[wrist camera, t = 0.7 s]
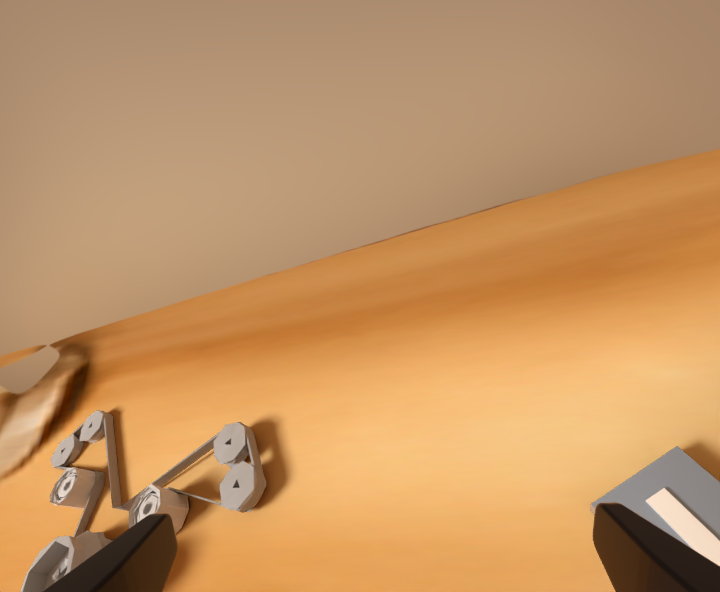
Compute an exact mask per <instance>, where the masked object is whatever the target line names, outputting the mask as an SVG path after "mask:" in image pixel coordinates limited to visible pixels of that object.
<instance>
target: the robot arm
mask: <svg viewBox="0 0 720 592" xmlns="http://www.w3.org/2000/svg"><path fill="white" fill-rule="evenodd" d="M593 541H594V545H595V548H596V550H597V553H598V555H599V557H600V559H601V561H602V563H603V565H604V568H605V570H606V572H607V574H608V576H609V578H610V581H611V583H612V585H613V587H614V589H615V591H616V592H720V566H719V565H717V564H715V563H714V562H712V561H711V560H709V559H708V558H706V557H704V556H703V555H701V554H700V553H698V552H697V551H695V550H693V549H692V548H690V547H689V546H687V545H686V544H684V543H682V542H681V541H679V540H678V539H676V538H674V537H673V536H671V535H670V534H668V533H667V532H665V531H663V530H662V529H660V528H659V527H657V526H656V525H654V524H652V523H651V522H649V521H648V520H646V519H644V518H643V517H641V516H640V515H638V514H637V513H635V512H633V511H632V510H630V509H629V508H627V507H626V506H624V505H622V504H620V503H616V502H612V503H599V504H597V506H596V509H595V517H594V527H593ZM176 553H177V539H176V535H175V530H174V526H173V521H172V517H171V516H170V515H169V514H167V513H153V514H149V515H148V516H146V517H145V518H143V519H142V520H140V521H139V522H138V523H136V524H135V525H134V526H132V527H131V528H129V529H128V530H127V531H125V532H124V533H122V534H121V535H120V536H118V537H117V538H116V539H114V540H113V541H111V542H110V543H109V544H107V545H106V546H104V547H103V548H102V549H100V550H99V551H98V552H96V553H95V554H93V555H92V556H91V557H89V558H88V559H86V560H85V561H84V562H82V563H81V564H80V565H78V566H77V567H75V568H74V569H73V570H71V571H70V572H69V573H67V574H66V575H64V576H63V577H62V578H60V579H59V580H57V581H56V582H55V583H53V584H52V585H51V586H49V587H48V588H46V589H45V590H44V591H42V592H162V591H163V589H164V586H165V583H166V581H167V578H168V575H169V573H170V570H171V567H172V565H173V562H174V559H175V556H176Z"/></svg>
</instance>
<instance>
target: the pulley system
mask: <svg viewBox="0 0 720 592" xmlns="http://www.w3.org/2000/svg"><path fill="white" fill-rule="evenodd" d="M113 418H114V417H113V416H112V415H111V414H109V413H106V412H104V411H99V410H97V411H95V412H94V413H93V414H91V415H90V416H89V417H88V418H87V419H86V421H85V422H84V423H83V424H82V425H81V426H80V427H79V428H78V429H77V430H76V431H75V432H73V433H72V434H71V435H70V436H69V437H68V438H66V439H65V440H63V441H62V442H60V444H59V445H58V447H57V449H56V451H55V452H54V454H53V456H52V457H51V462H52V465H53V468H58V469H63V470H65V471H64V473H63V474H62V476H61V477H60V478H59V480H58V481H57V482H56V484H55V486H54V488H53V490H52V493H51V495H50V502H51V503H53V504H54V505H62V506H67V507H73V508H78V509H83V508H85V509H84V511H83V514H82V516H81V519H80V521H79V524H78V526H77V529H76V531H75V534H74V537H71V536H62V537H57V538H55V539H54V540H53V541H52V542H51V543H50V544H48V545H47V546H46V547H45V548H44V549H43V550H41V551H40V552H39V554H38V556H37V557H36V559H35V561H34V562H33V564H32V566H31V567H30V569H29V571H28V572H27V574H26V577H25V580H24V583H23V586H22V589H21V591H20V592H42V591H44V590H45V589H46V588H48V587H49V586H51V585H52V584H53V583H55V582H56V581H57V580H59V579H60V578H62V577H63V576H64V575H66V574H67V573H69V572H70V571H71V570H73V569H74V568H75V567H77V566H78V565H80V564H81V563H82V562H84V561H85V560H86V559H88V558H89V557H91V556H92V555H93V554H95V553H96V552H98V551H99V550H100V549H102V548H103V547H104V546H106V545H107V544H109V543H110V542H111V541H113V540H110V539H108V538H105V536H104V533H103V532H98V533H92V532H90V531H85V529H86V526H87V524H88V522H89V519H90V517H91V515H92V512H93V510H94V508H95V505H96V503H97V500H98V498H99V496H100V493H101V491H102V489H103V486H104V484H105V473H104V472H99V471H93V470H85V469H80V468H76V467H73V468H68V467H67V466H68V465H69V464H71V463H72V462H73V461H74V460H75V459H76V457H77V456H78V455H79V454H80V452H81V448H82V446H83V444H84V443H83V441H88V442H90V443H95V442H97V441H99V440H100V439H101V438H102V437H103V436H104V434H105V440H106V449H107V459H108V469H109V479H110V488H111V498H112V508H117V509H122V510H127V511H129V510H130V511H129V528H131V527H132V526H134V525H135V524H136V523H138V522H139V521H140V520H142V519H143V518H145V517H146V516H148V515H149V514H153V513H167V514H169V515H170V516H171V517H172V521H173V526H174V530H175V534H176V533H177V532H178V531H179V530H180V529H181V528H182V526H183V523H184V521H185V518H186V516H187V513H188V511H189V504H188V496H187V495H189V496H192V497H196V498H199V499H202V500H205V501H208V502H211V503H215V504H218V505H221V506H222V507H224V508H227V509H229V510H237V511H240V512H242V513H243V512H250V511H251V509H252V508H253V507H254V506H255V505H256V504H257V502H258V501H259V499H260V497H261V495H262V493H263V491H264V489H265V487H266V485H267V483H266V480H265V477H264V473H263V469H262V465H261V461H260V457H259V453H258V449H257V445H256V441H255V436H254V433H253V431H252V429H251V428H249V427H248V426H246V425H244V424H242V423H241V422H236V423H232V424H227V425H225V427H224V428H223V429H222V431H220V432H219V433H218V434H216V435H215V436H214V437H213V438H211V439H210V440H209V441H207V442H206V443H205V444H203V445H202V446H201V447H199V448H198V449H197V450H195V451H194V452H193V453H191V454H190V455H189V456H187V457H186V458H185V459H183V460H182V461H181V462H179V463H178V464H177V465H175V466H174V467H173V468H172V469H170V470H169V471H168V472H166V473H165V474H164V475H162V476H161V477H160V478H158V479H157V480H156V481H154V482H153V483H152V484H150V485H149V486H148V487H146V488H145V489H144V490H142V491H141V492H140V493H138V494H137V495H136V496H134V497H133V498H132V499H130V500H129V501H128V502H127V503H125V504H124V505H123V506H122V503H121V494H120V484H119V474H118V465H117V455H116V445H115V436H114V426H113ZM79 436H80V438H78V437H79ZM213 448H214V456H215V458H216V459H217V460H218V462H219V463H220V464H221V465H222V464H227V465H228V466H229V467H230V468H232V467H233V468H232V469H231V470H229V471H228V473H227V474H226V476H225V477H224V479H223V480H222V482H221V483H220V485H219V487H220V495H221V503H218V502H215V501H212V500H209V499H206V498H202V497H199V496H196V495H193V494H190V493H186V492H183V491H180V490H177V489H174V488H170V487H168V488H167V489H165V488H162V487H161V486H163V485H164V484H165V483H167V482H168V481H169V480H171V479H172V478H173V477H175V476H176V475H177V474H179V473H180V472H182V471H183V470H184V469H186V468H187V467H188V466H190V465H191V464H192V463H194V462H195V461H196V460H198V459H199V458H200V457H202V456H203V455H205V454H206V453H207V452H209V451H210V450H211V449H213ZM249 454H250V459H251V463H252V465H250V464H248V463H246V462H244V460H245V459H246V458H247V456H248V455H249ZM185 494H186V495H185ZM84 531H85V532H84Z"/></svg>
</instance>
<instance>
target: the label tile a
mask: <svg viewBox="0 0 720 592" xmlns="http://www.w3.org/2000/svg"><path fill="white" fill-rule="evenodd" d="M612 502H616V503H620V504H622V505H624V506H626V507H627V508H629V509H630V510H632V511H633V512H635V513H637V514H638V515H640V516H641V517H643V518H644V519H646V520H648V521H649V522H651V523H652V524H654V525H656V526H657V527H659V528H660V529H662V530H663V531H665V532H667V533H668V534H670V535H671V536H673V537H674V538H676V539H678V540H679V541H681V542H682V543H684V544H686V545H687V546H689V547H690V548H692V549H693V550H695V551H697V552H698V553H700V554H701V555H703V556H704V557H706V558H708V559H709V560H711V561H712V562H714V563H715V564H717V565H719V566H720V482H719V481H718V480H717V479H715V478H714V477H713V476H712V475H711V474H710V473H708V472H707V471H706V470H705V469H704V468H703V467H701V466H700V465H699V464H698V463H697V462H695V461H694V460H693V459H692V458H691V457H690V456H688V455H687V454H686V453H685V452H684V451H682V450H681V449H680V448H679V447H678V446H676V447H675V448H673V449H672V450H670V451H669V452H667V453H666V454H665V455H663V456H662V457H660V458H659V459H657V460H656V461H654V462H653V463H651V464H650V465H648V466H647V467H645V468H644V469H642V470H641V471H639V472H638V473H636V474H635V475H633V476H632V477H631V478H629V479H628V480H626V481H625V482H623V483H622V484H620V485H619V486H617V487H616V488H614V489H613V490H611V491H610V492H608V493H607V494H605V495H604V496H602V497H601V498H600V499H598V500H597V501H595V502H594V503H592V504H591V509H590V510H591V511H592V512H593V513H594V514H595V509H596V506H597V504H599V503H612Z"/></svg>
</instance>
